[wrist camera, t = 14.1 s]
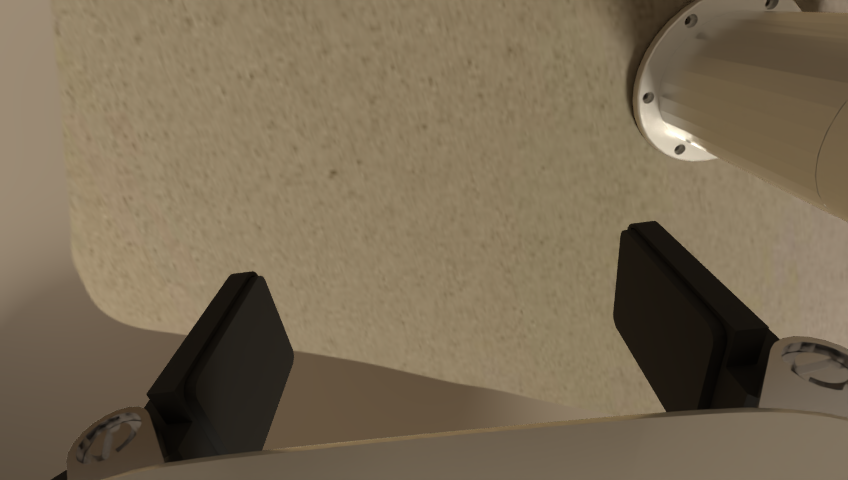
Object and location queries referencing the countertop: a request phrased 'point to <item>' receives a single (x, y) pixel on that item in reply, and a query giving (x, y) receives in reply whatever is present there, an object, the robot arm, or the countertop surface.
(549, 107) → the countertop surface
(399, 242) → the countertop surface
